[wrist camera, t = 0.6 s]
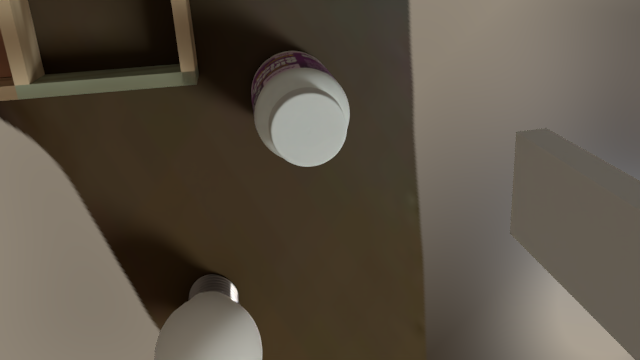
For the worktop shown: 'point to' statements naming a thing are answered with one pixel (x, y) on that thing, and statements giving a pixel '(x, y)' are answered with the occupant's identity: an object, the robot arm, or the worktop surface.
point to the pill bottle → (299, 108)
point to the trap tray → (31, 82)
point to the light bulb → (210, 326)
